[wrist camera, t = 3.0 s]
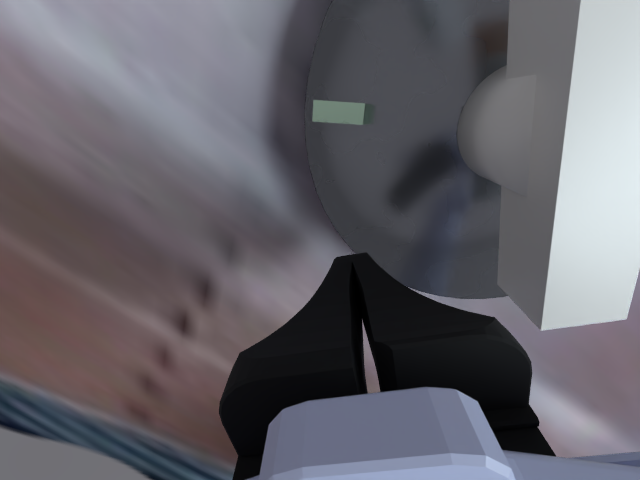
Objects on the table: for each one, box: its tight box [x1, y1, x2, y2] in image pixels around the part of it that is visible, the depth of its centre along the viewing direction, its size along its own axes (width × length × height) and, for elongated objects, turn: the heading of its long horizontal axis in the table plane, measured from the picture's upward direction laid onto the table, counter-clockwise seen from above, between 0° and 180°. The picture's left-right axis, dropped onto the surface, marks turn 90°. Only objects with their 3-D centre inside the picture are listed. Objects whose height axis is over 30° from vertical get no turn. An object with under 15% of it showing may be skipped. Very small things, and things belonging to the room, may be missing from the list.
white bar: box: [457, 0, 640, 331], centre depth 9 cm, size 11×4×4 cm, turn 11°
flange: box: [305, 0, 510, 299], centre depth 11 cm, size 15×15×2 cm
